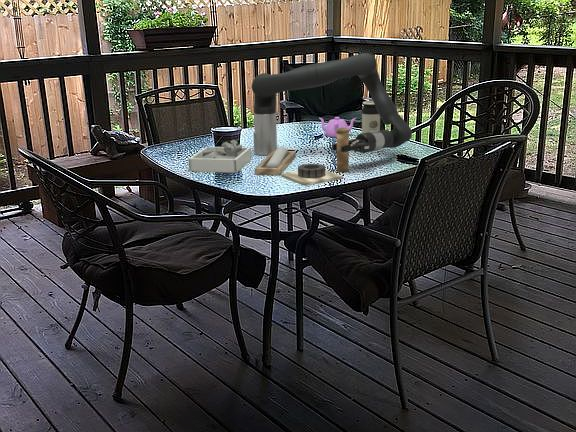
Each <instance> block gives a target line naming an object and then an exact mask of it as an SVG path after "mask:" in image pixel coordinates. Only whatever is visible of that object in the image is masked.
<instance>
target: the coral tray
mask: <svg viewBox="0 0 576 432" xmlns="http://www.w3.org/2000/svg"><path fill="white" fill-rule="evenodd" d="M216 148H217V149H219V150H221V151H222V152H223V153H225V154H226V152H225V151H224V147H222V146H205V147H204V148H202V149H200V150H199V151H197V152H196V153H195V154H193V155H192V156H190V157H188V158H187V159H188V161H187V162H188V163H187V164H188V172H189V171H197V172H196V173H226V174H227V173H233V174H237V173H238V172H240V170H242V169H243V168H244V167H245V166H246V165H247V164H248V163H249V162H250V161H251V160H252V147H244V146H242V150H241V151H239V152H237V155H239V156H238V157H236V158H235V159H201V157H202V154H203V152H204V151H205V150H208V149H216Z"/></svg>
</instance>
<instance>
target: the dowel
mask: <svg viewBox="0 0 576 432" xmlns="http://www.w3.org/2000/svg"><path fill="white" fill-rule="evenodd" d="M349 135H350V131H349V129H348V128H337V137H336V144H337V150H336V172H337V171H338V172H337V173H347V172H349V169H350V168H349V165H350V164H349V159H350V158H349V154H350V153H349V152H350V151H348V152H341V147H342V146H346V145H349V140H350V139H349V138H350V137H349Z"/></svg>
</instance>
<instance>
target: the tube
mask: <svg viewBox="0 0 576 432" xmlns="http://www.w3.org/2000/svg"><path fill="white" fill-rule="evenodd" d="M287 151H288V149H287V148H286V147H285V146H277V149H276V150H275V153H274V154H273V156H272V157H271V159H270V160H269V162H268V163H267V165H266V168H277V167H278V166H279V165H280V164H281V163H282V161H283V160H284V159H285V157H286V156H287V155H288V153H287Z"/></svg>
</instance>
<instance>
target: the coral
mask: <svg viewBox="0 0 576 432" xmlns="http://www.w3.org/2000/svg"><path fill="white" fill-rule="evenodd" d="M242 145H243V144H240V143H238V141H237V140H235V139H231V140H230V141H229V142H228V141H225V142H222V144H221V145H220V147H224V151H225V152H226V154H225V153H223V152H222V151H221V150H219V149H217V148H216V149H208V150H205V151H204V152H203V154H202V157H201V159H235V158H236V157H238V156H239V155H237V152H239V151H241V150H242V147H243V146H242Z"/></svg>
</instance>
